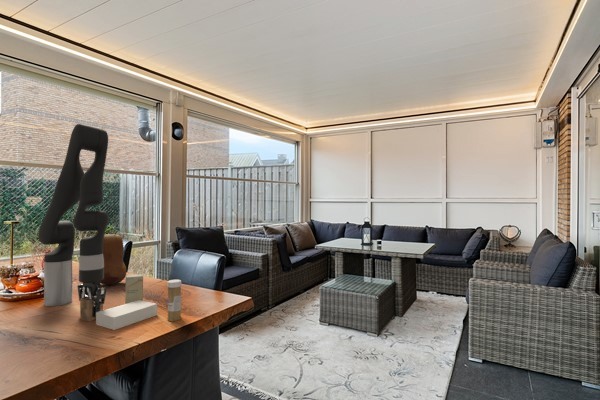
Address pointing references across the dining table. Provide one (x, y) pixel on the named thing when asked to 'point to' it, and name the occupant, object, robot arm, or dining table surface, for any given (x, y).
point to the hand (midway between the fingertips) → (91, 315)
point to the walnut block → (87, 309)
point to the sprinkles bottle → (174, 300)
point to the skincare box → (134, 288)
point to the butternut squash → (113, 259)
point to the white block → (126, 314)
